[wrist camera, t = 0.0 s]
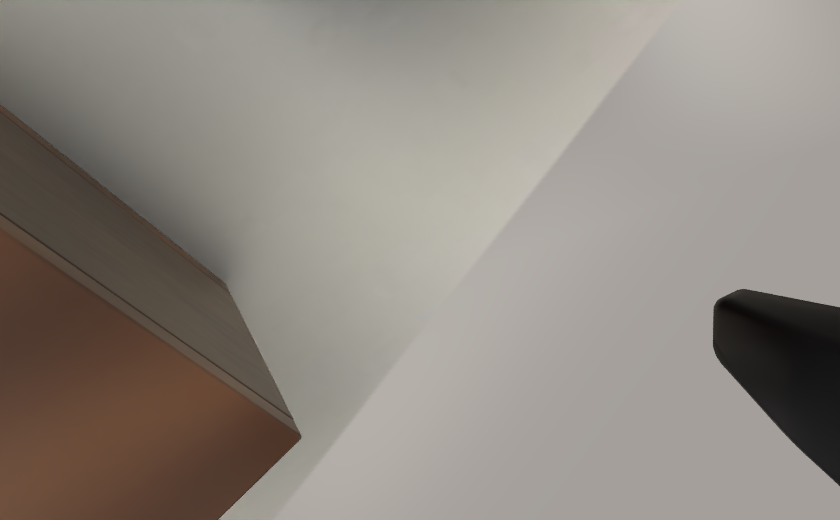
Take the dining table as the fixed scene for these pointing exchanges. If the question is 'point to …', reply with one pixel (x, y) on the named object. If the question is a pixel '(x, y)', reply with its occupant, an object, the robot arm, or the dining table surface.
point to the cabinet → (118, 359)
